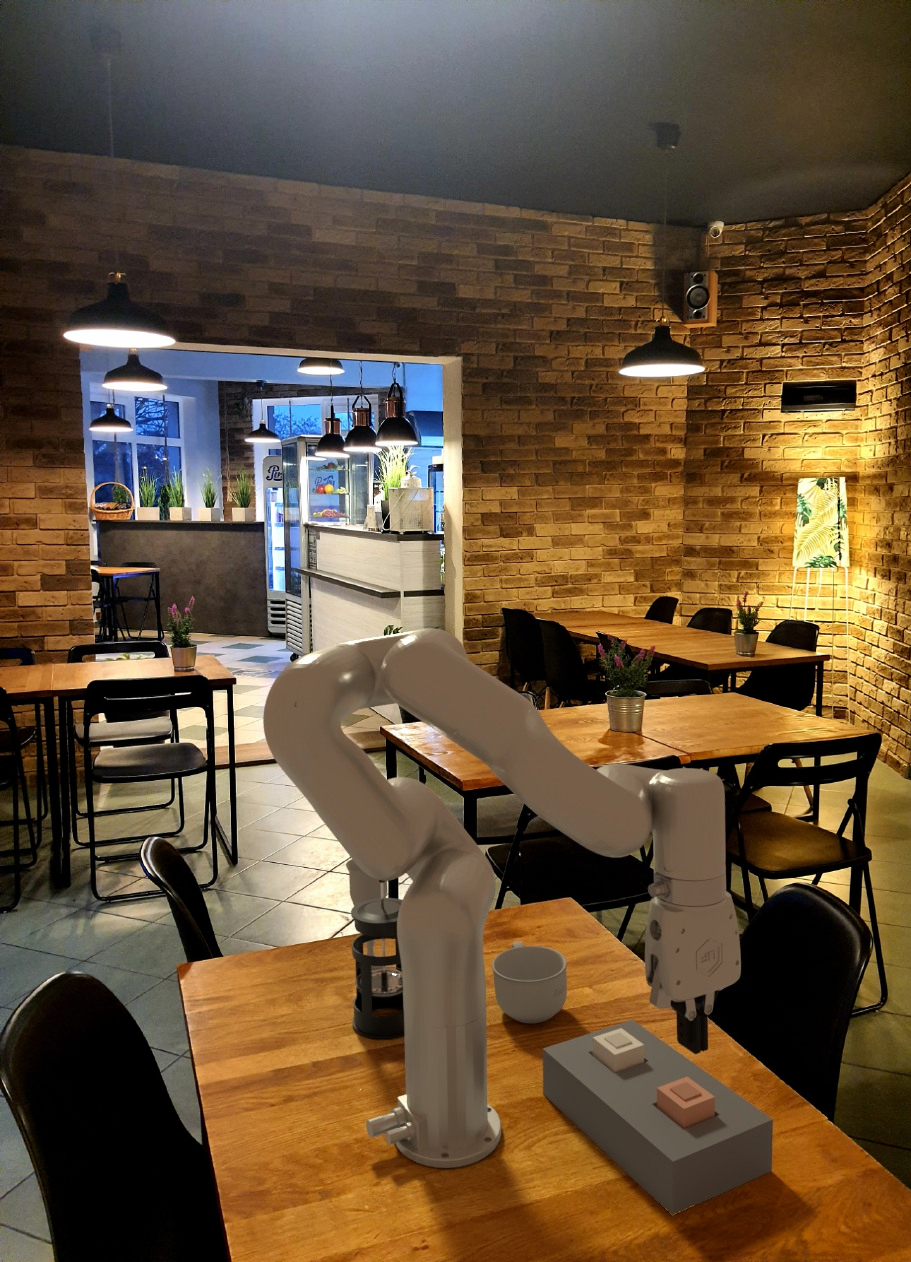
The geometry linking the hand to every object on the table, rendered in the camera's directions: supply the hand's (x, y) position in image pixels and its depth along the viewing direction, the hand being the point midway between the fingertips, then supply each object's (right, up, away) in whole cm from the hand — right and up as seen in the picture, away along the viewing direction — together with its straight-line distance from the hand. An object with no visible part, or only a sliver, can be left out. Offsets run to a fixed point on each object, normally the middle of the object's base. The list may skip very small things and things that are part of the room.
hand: (692, 1046), depth 103 cm
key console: (-3, -13, +7) cm, 15 cm away
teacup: (-15, -10, +36) cm, 40 cm away
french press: (-36, -11, +32) cm, 49 cm away
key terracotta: (0, -8, +1) cm, 8 cm away
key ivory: (-6, -7, +12) cm, 15 cm away
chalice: (-40, -9, +47) cm, 62 cm away
